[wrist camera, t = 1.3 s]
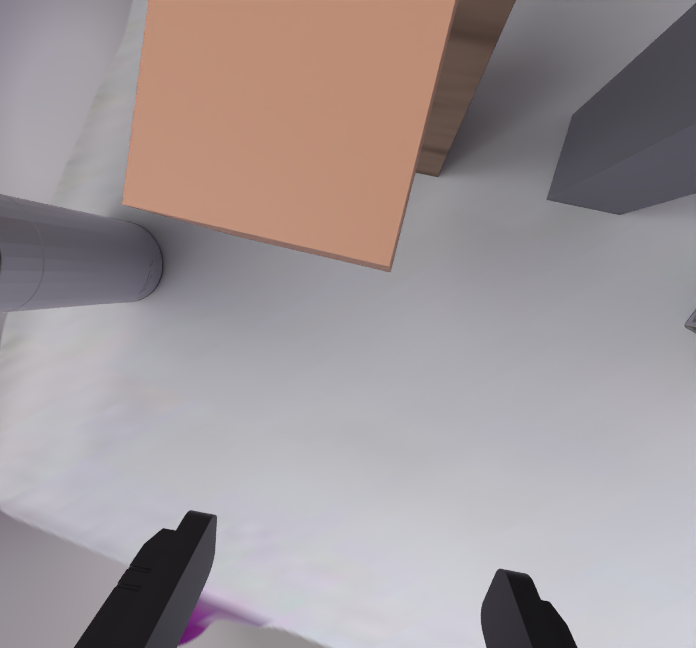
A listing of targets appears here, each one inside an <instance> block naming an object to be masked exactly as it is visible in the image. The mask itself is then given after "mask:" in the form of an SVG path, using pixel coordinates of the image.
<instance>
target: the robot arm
mask: <svg viewBox="0 0 696 648" xmlns="http://www.w3.org/2000/svg"><path fill="white" fill-rule="evenodd" d="M161 273H162V257H161V252H160V250H159V247H158V245H157V243H156V241H155V240H154V238H153V237H152V236H151V235H150V234H149V232H148V231H146V230H145V229H143V228H142V227H141V226H138V225H136V224H134V223H130V222H125V221H121V220H116V219H112V218H107V217H103V216H99V215H94V214H89V213H85V212H80V211H76V210H71V209H66V208H62V207H57V206H53V205H48V204H43V203H38V202H34V201H29V200H25V199H20V198H15V197H11V196H6V195H2V194H0V313H2V312H13V311H25V310H37V309H49V308H60V307H72V306H84V305H96V304H109V303H121V302H132V301H137V300H140V299H142V298H144V297H146V296H148V295H149V294H150V293H151V292H152V291H153V290H154V289H155V287H156V286H157V284H158V282H159V280H160V277H161ZM216 526H217V516H216V515H213V514H208V513H202V512H197V511H192V510H190V511H188V512H187V514H186V515H185V516H184V518H183V520H182V521H181V523H180V525H179V526H178V528H177V530H176V531H175V530H170V529H164V528H163V529H162V530H160V531H159V532H158V533H157V534H156V535H154V536H153V537H152V538H151V539H150V540H148V541H147V542H146V543H145V544H144V545H143V546H142V548H141V549H140V551H139V552H138V554H137V555H136V557H135V558H134V560H133V561H132V563H131V564H130V567H129V569H127V570H126V571H125V573H124V574H123V576H122V577H121V579H120V580H119V582H118V585H117V586H116V587H115V588H114V589H113V591H112V592H111V594H110V595H109V597H108V598H107V600H106V601H105V603H104V604H103V606H102V607H101V608H100V610H99V611H98V613H97V614H96V616H95V617H94V619H93V620H92V622H91V623H90V625H89V626H88V628H87V629H86V631H85V632H84V633H83V635H82V636H81V638H80V640H79V641H78V642H77V644H76V645H75V647H74V648H177V646H178V644H179V641H180V639H181V637H182V635H183V632H184V630H185V628H186V626H187V623H188V621H189V619H190V617H191V614H192V612H193V610H194V608H195V605H196V603H197V601H198V599H199V596H200V594H201V592H202V590H203V588H204V585H205V583H206V581H207V578H208V576H209V573H210V570H211V567H212V564H213V560H214V555H215V543H216ZM481 625H482V631H483V635H484V639H485V643H486V647H487V648H577V646H576V643H575V641H574V639H573V637H572V635H571V632H570V630H569V628H568V626H567V624H566V623H565V621H564V620H563V619H562V618H561V616H560V615H559V614H558V612H557V611H556V610H555V608H554V607H553V606H552V604H551V603H550V602H548V601H543V600H541V599H540V597H539V594H538V592H537V589H536V587H535V585H534V582H533V580H532V579H531V577H530V576H529V575H528V574H525V573H520V572H515V571H510V570H504V569H498V570H497V572H496V574H495V576H494V578H493V580H492V583H491V585H490V587H489V589H488V592H487V594H486V596H485V599H484V601H483V603H482V608H481Z"/></svg>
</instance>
